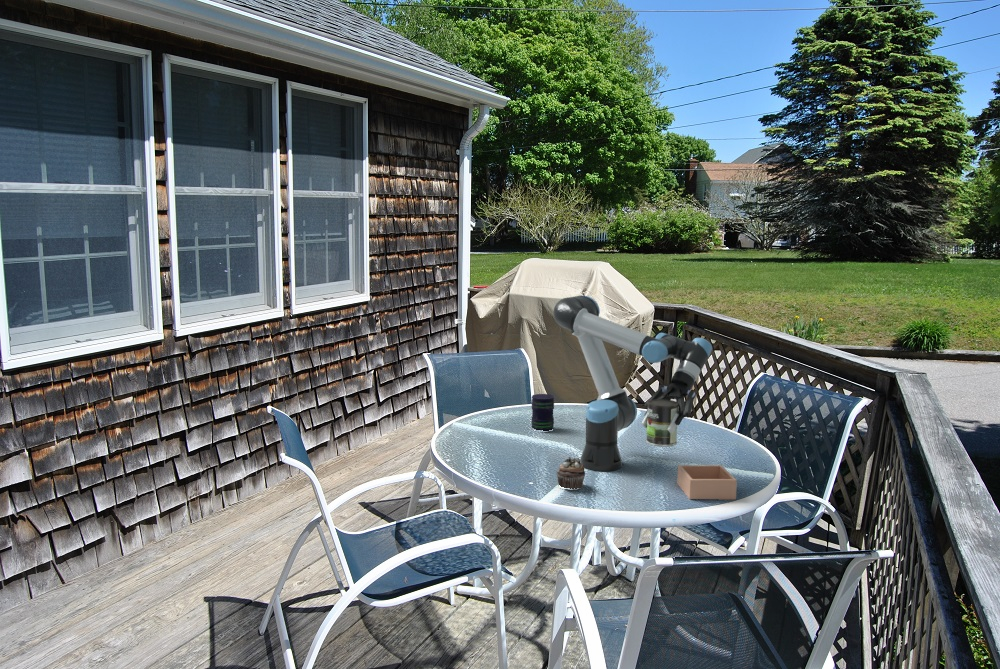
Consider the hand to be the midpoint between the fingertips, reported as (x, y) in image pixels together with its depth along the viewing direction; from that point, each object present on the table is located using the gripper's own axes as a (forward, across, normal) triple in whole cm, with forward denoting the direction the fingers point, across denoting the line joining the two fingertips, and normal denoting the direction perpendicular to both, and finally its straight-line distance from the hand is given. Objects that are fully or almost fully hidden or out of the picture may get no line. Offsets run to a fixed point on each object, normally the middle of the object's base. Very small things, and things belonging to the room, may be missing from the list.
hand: (656, 428), depth 239 cm
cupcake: (+31, +17, +3) cm, 35 cm away
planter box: (+9, -15, -19) cm, 26 cm away
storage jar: (0, +75, -27) cm, 80 cm away
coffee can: (+2, 0, -6) cm, 6 cm away
